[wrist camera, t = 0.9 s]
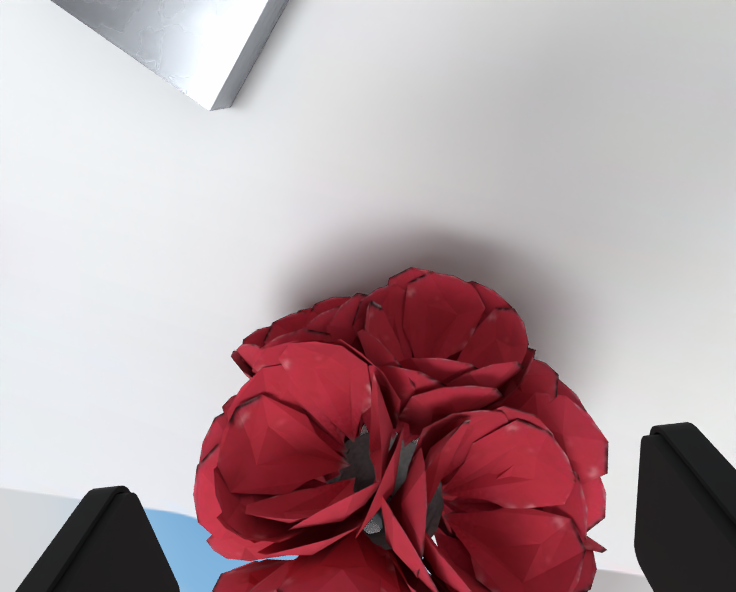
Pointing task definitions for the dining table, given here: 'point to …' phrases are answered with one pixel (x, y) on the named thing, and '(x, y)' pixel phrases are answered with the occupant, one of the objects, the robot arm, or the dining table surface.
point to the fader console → (187, 39)
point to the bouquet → (402, 451)
